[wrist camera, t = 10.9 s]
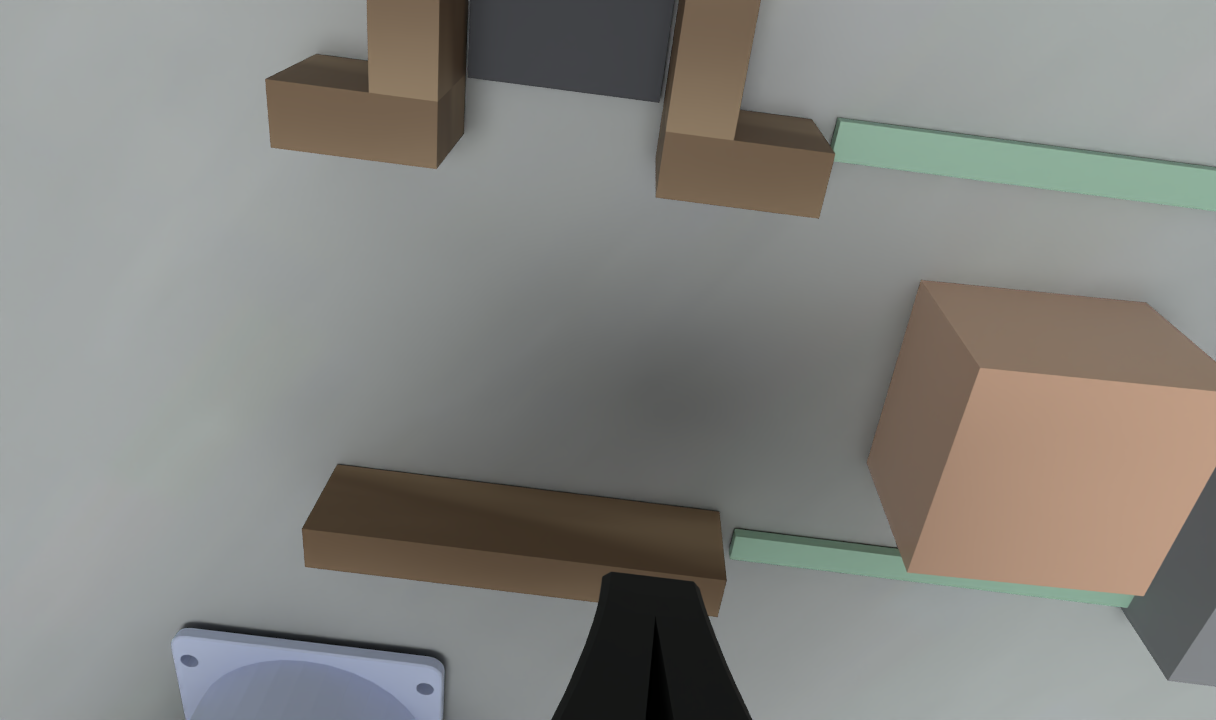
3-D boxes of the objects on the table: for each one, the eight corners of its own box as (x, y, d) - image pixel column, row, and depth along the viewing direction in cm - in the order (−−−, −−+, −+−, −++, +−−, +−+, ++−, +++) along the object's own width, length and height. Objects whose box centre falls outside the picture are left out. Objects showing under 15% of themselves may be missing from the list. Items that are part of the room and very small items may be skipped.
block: (1063, 478, 21) (1144, 596, 18) (865, 459, 21) (907, 572, 18) (1143, 300, 19) (1255, 395, 15) (919, 277, 19) (980, 367, 15)
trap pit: (658, 98, 17) (659, 103, 17) (470, 74, 17) (467, 77, 17) (683, -68, 15) (683, -67, 15) (476, -96, 15) (473, -95, 15)
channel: (711, 546, 22) (717, 616, 20) (339, 500, 22) (305, 566, 20) (867, -120, 15) (905, -121, 13) (303, -197, 15) (241, -212, 12)
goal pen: (1173, 611, 23) (1227, 687, 21) (727, 556, 23) (735, 627, 20) (1439, 186, 17) (1556, 230, 15) (840, 107, 17) (868, 140, 15)
